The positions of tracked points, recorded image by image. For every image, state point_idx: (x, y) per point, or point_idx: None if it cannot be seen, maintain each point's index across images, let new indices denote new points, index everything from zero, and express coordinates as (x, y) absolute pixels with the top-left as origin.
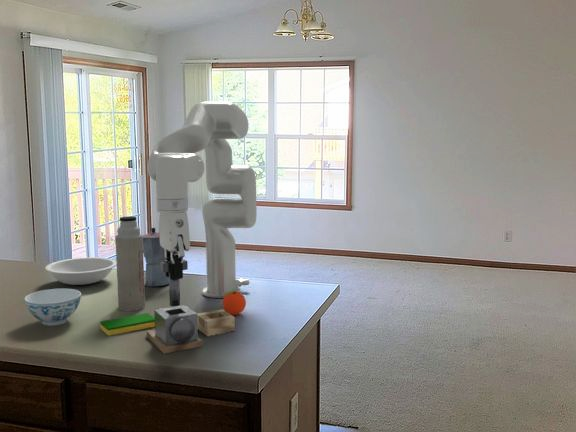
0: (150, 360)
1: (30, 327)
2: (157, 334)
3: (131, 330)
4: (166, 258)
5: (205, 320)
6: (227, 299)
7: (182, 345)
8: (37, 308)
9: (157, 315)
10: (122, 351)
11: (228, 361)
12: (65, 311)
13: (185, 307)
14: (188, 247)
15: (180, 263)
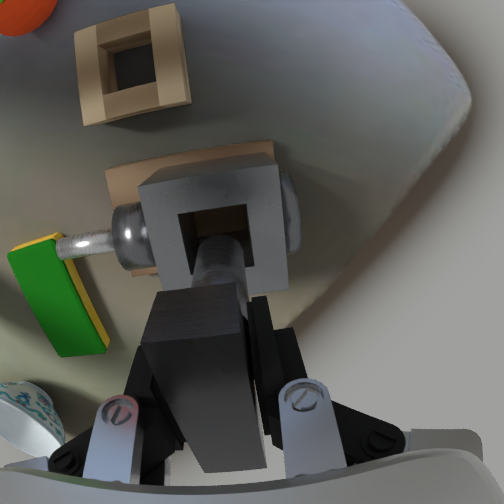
0: (309, 283)
1: (62, 423)
2: None
3: (87, 296)
4: (168, 464)
5: (168, 103)
6: (22, 15)
7: None
8: None
9: None
10: None
11: (398, 114)
12: (49, 412)
13: (171, 191)
14: (486, 476)
15: (311, 392)
